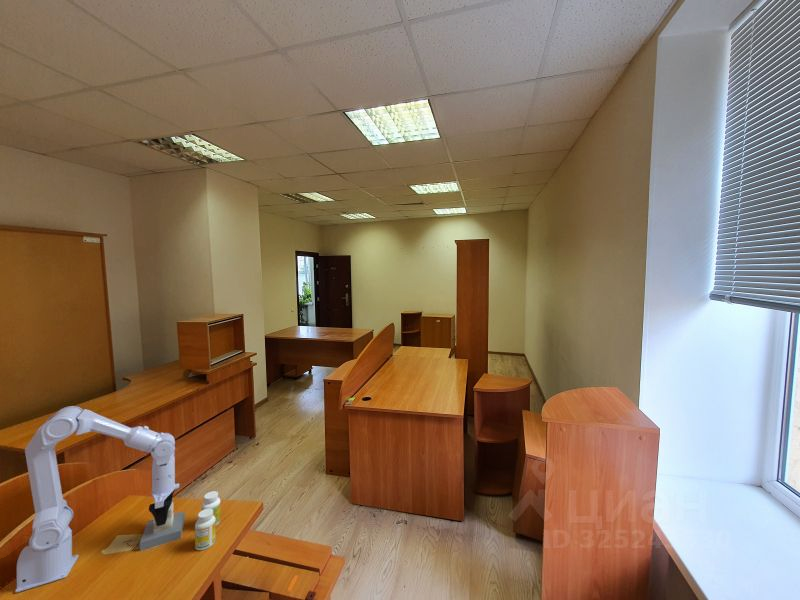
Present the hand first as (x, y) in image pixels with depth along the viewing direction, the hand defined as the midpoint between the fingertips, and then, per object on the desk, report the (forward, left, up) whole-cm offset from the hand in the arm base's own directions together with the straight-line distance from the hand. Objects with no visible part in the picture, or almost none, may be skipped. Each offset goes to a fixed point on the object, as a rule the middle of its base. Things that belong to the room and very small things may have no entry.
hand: (163, 516), depth 98 cm
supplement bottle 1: (+13, -2, -6) cm, 14 cm away
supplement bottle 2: (+12, -11, -6) cm, 17 cm away
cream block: (0, 0, -3) cm, 3 cm away
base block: (0, 0, -6) cm, 6 cm away
